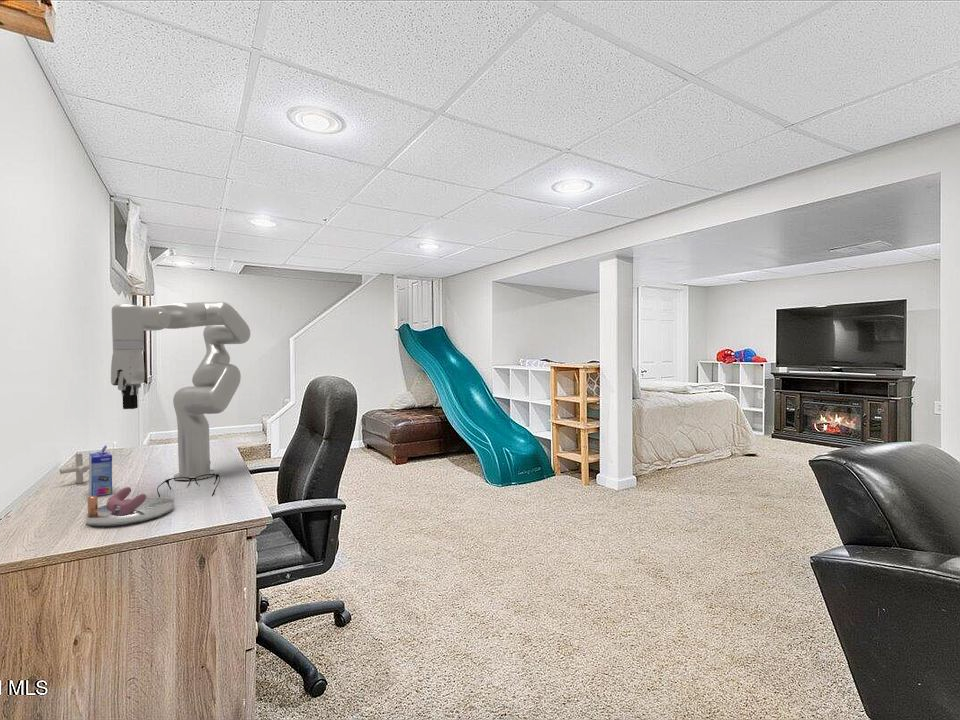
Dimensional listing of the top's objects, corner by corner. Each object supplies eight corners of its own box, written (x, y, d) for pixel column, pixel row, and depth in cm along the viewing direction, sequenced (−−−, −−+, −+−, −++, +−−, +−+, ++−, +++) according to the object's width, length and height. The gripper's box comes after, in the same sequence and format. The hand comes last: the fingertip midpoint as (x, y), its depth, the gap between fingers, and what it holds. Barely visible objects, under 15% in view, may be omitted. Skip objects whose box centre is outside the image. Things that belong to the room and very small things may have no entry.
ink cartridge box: (113, 494, 151) (112, 447, 151) (91, 497, 147) (89, 450, 147) (110, 487, 158) (109, 443, 158) (88, 491, 155) (87, 445, 154)
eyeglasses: (221, 484, 162) (221, 472, 162) (218, 496, 148) (218, 483, 147) (163, 491, 155) (163, 478, 155) (154, 504, 141) (153, 491, 141)
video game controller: (131, 501, 134) (101, 510, 128) (129, 485, 133) (99, 494, 127) (149, 509, 129) (118, 520, 123) (147, 493, 128) (116, 503, 122)
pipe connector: (92, 477, 172) (92, 449, 172) (103, 481, 166) (102, 452, 166) (56, 484, 164) (55, 454, 164) (65, 488, 158) (64, 458, 158)
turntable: (77, 516, 129) (76, 491, 129) (159, 498, 144) (158, 476, 144) (97, 531, 117) (97, 505, 117) (184, 510, 132) (184, 487, 132)
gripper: (127, 347, 151) (129, 406, 151) (99, 346, 136) (101, 412, 136) (154, 346, 152) (156, 405, 152) (129, 346, 137) (131, 411, 138)
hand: (130, 408), depth 144 cm, fingers closed
